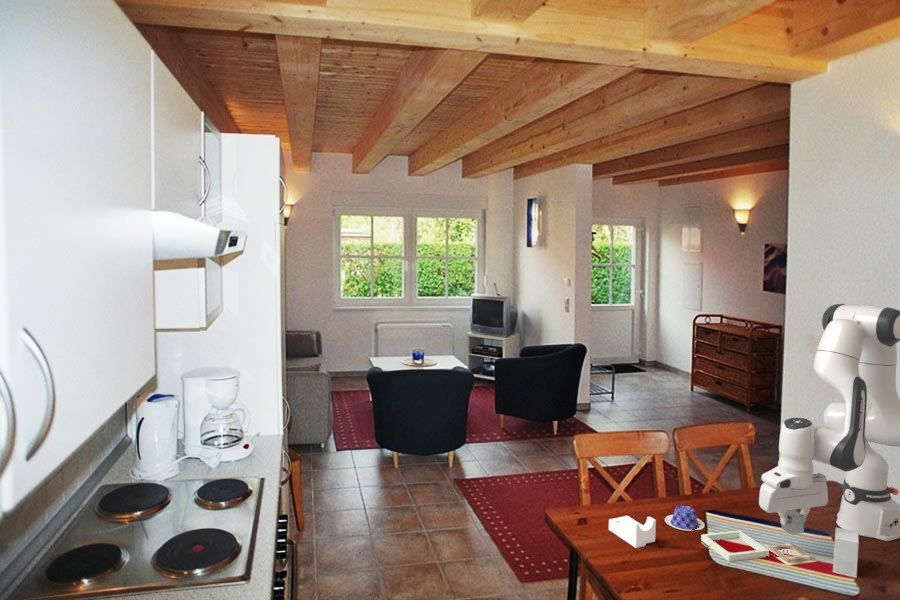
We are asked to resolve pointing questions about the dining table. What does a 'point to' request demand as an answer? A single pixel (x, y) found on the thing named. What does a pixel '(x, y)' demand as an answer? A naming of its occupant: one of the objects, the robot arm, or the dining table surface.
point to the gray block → (794, 522)
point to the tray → (757, 553)
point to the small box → (846, 552)
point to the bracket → (634, 530)
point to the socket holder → (789, 559)
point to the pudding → (684, 519)
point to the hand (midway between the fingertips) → (792, 522)
